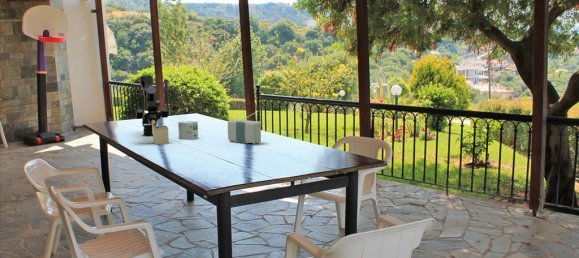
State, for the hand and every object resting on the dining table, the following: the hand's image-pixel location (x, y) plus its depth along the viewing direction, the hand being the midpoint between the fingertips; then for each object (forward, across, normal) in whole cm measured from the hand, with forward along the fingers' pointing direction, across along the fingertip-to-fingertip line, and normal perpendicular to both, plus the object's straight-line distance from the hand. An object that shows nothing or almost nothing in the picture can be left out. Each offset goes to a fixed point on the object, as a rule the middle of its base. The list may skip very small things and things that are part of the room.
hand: (153, 124), depth 331 cm
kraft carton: (+6, +4, +11) cm, 13 cm away
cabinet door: (+2, 0, +8) cm, 8 cm away
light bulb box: (-1, +22, +18) cm, 29 cm away
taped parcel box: (+17, +53, 0) cm, 55 cm away
